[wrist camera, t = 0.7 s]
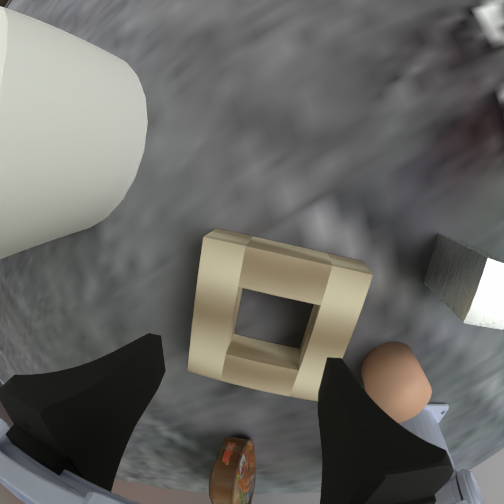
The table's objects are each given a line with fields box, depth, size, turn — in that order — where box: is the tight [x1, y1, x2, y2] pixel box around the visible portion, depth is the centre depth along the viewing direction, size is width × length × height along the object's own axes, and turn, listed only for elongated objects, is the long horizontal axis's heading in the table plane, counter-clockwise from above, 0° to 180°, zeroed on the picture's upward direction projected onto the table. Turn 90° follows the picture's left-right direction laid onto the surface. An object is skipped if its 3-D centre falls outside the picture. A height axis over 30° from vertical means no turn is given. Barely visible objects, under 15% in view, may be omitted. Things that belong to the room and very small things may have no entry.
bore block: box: [188, 228, 373, 401], centre depth 21 cm, size 11×11×3 cm
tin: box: [209, 437, 256, 504], centre depth 24 cm, size 15×3×8 cm, turn 1°
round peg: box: [361, 342, 432, 423], centre depth 20 cm, size 5×5×5 cm
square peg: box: [423, 233, 504, 330], centre depth 16 cm, size 4×4×7 cm
